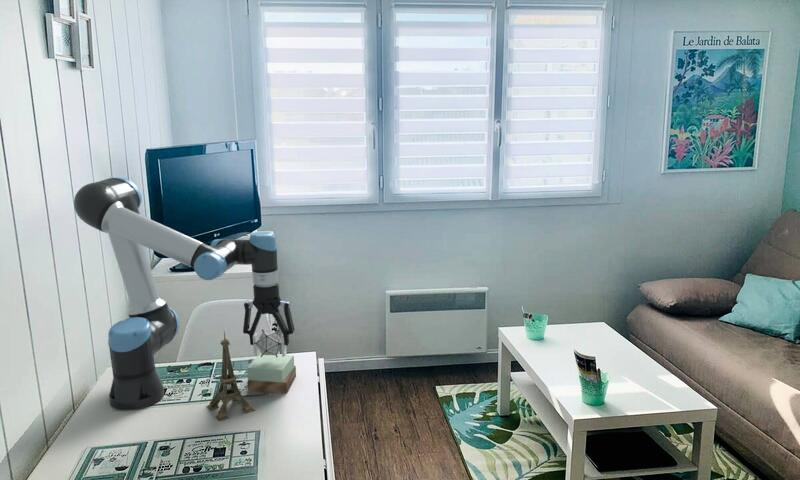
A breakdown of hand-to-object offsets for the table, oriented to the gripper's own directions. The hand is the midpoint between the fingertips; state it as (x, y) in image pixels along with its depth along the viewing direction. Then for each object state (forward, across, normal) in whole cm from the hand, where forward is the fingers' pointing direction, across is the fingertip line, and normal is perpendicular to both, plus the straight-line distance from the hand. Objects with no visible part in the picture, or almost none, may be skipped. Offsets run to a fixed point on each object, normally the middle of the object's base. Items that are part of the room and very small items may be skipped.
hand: (270, 354), depth 200 cm
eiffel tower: (+10, -8, -16) cm, 21 cm away
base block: (+10, 0, 0) cm, 10 cm away
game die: (+1, 0, 0) cm, 1 cm away
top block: (+6, 0, 0) cm, 6 cm away
